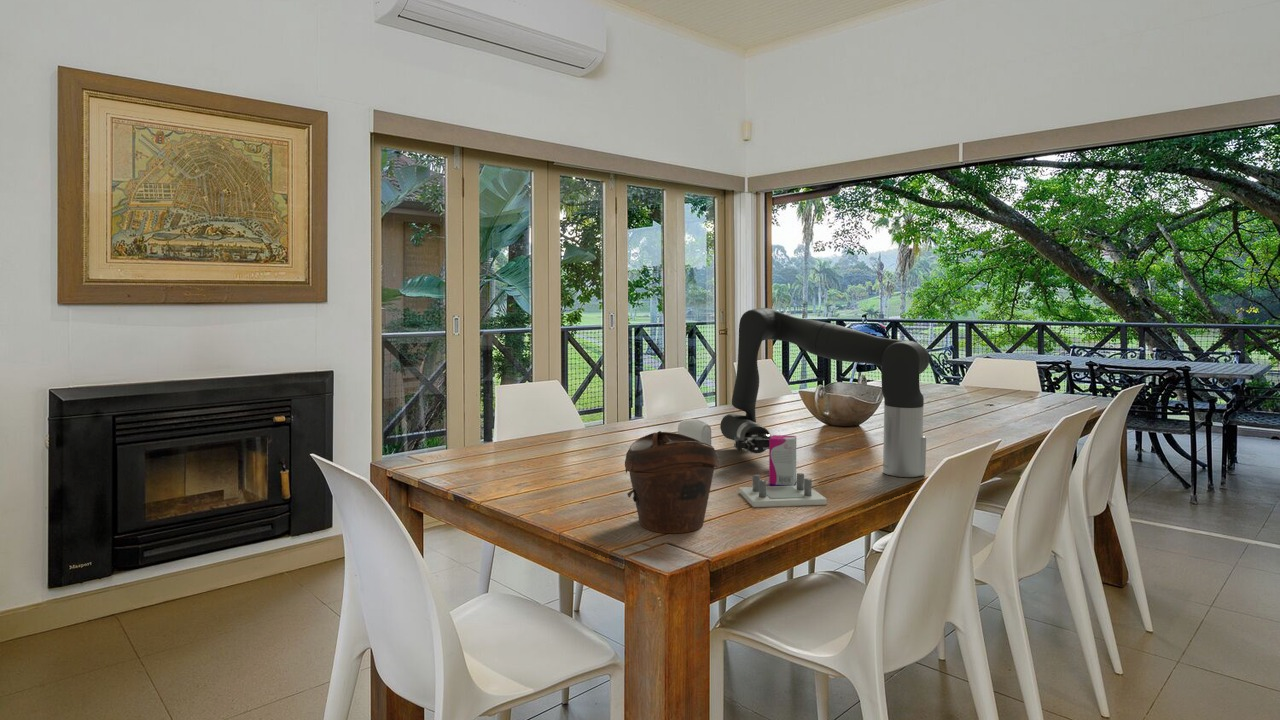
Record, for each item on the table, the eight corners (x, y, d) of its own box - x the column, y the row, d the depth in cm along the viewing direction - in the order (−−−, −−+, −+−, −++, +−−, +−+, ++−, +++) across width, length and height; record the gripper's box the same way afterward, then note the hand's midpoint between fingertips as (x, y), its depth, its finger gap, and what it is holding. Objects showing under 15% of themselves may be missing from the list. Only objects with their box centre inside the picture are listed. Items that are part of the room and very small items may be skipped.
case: (658, 503, 155) (657, 421, 153) (738, 521, 142) (738, 431, 140) (601, 525, 141) (600, 434, 139) (685, 547, 128) (684, 447, 127)
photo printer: (675, 463, 195) (675, 418, 194) (687, 461, 198) (687, 416, 197) (702, 470, 187) (702, 422, 186) (714, 467, 190) (714, 420, 189)
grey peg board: (807, 490, 166) (808, 470, 165) (826, 504, 154) (827, 482, 154) (739, 492, 164) (739, 472, 164) (753, 507, 152) (753, 485, 152)
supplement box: (796, 482, 173) (797, 435, 172) (793, 488, 168) (794, 439, 167) (772, 480, 175) (772, 434, 174) (768, 486, 169) (768, 438, 169)
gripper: (727, 423, 197) (742, 434, 181) (778, 422, 198) (797, 432, 182) (727, 451, 197) (742, 463, 181) (778, 449, 199) (797, 462, 183)
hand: (769, 448), depth 182 cm, fingers open, 8 cm apart
